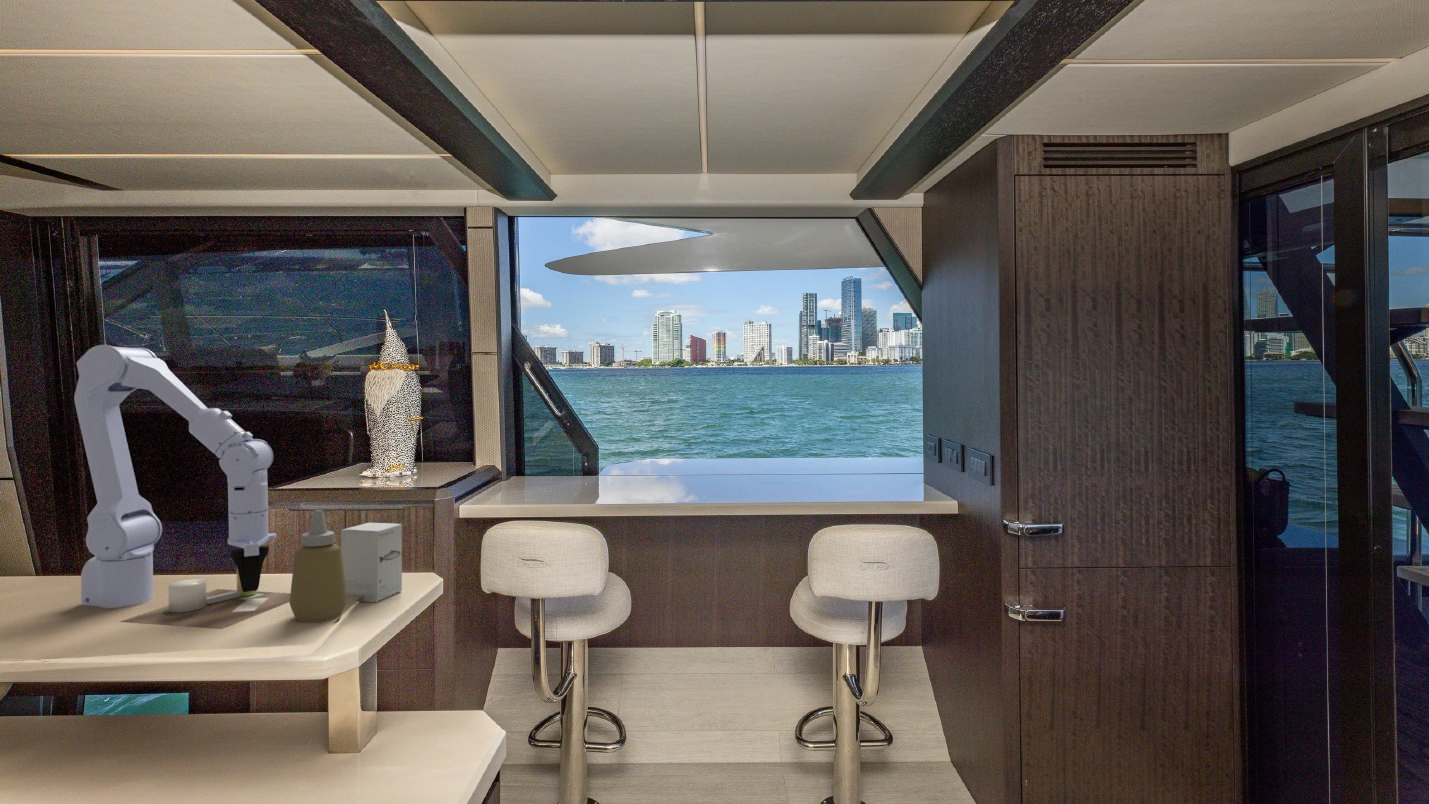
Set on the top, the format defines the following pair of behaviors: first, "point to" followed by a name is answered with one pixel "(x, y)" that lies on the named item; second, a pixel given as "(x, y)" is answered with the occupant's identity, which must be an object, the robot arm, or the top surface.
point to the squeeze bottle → (318, 575)
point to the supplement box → (372, 560)
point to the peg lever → (197, 595)
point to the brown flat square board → (216, 611)
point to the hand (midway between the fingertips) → (250, 590)
